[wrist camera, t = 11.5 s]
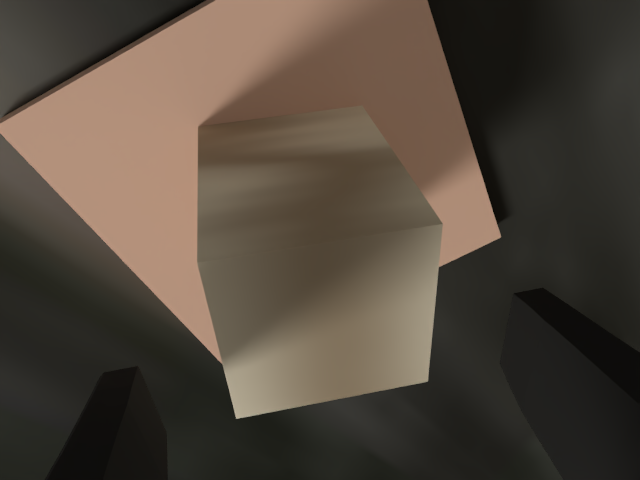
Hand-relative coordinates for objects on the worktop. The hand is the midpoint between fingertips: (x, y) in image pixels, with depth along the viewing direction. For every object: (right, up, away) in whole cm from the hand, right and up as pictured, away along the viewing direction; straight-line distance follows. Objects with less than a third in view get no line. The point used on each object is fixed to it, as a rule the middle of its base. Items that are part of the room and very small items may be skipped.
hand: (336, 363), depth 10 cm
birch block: (-1, +4, +5) cm, 7 cm away
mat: (-1, +4, +6) cm, 7 cm away
